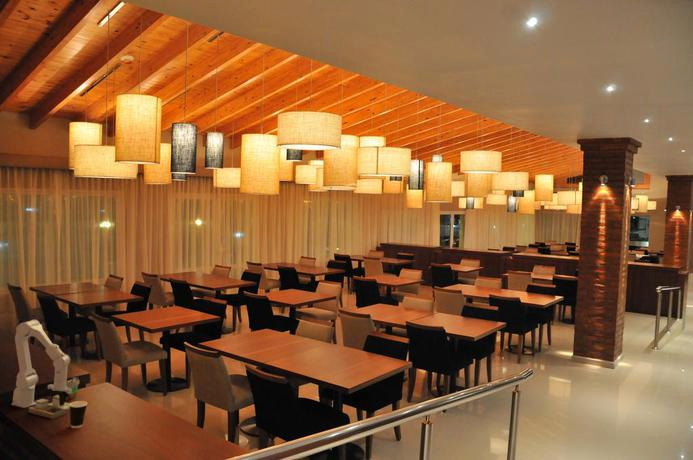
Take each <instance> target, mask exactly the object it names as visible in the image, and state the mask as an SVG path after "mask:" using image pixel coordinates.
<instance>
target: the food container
mask: <svg viewBox="0 0 693 460" xmlns="http://www.w3.org/2000/svg"><path fill="white" fill-rule="evenodd" d="M79 384H80V380H79V378H78V377H76V376H72V378H71V379H67V382H66V386H67V387H68V388H70V389H72V393H70V394H69V395H68V396H67V398H66V401H69V400H73V399H75V398H76V397H77V394H78V393H77V392H78V387H79Z"/></svg>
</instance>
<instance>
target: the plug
mask: <svg viewBox="0 0 693 460" xmlns="http://www.w3.org/2000/svg"><path fill="white" fill-rule="evenodd" d="M51 403H52V406H55V407H59V408H63V407H64V406H65V403H66V402H65V403H64V405H63V406H60V399H59V395H56V396H53V401H52V402H51Z"/></svg>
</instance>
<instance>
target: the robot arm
mask: <svg viewBox="0 0 693 460" xmlns="http://www.w3.org/2000/svg"><path fill="white" fill-rule="evenodd" d="M15 330H16V332H15V336H14V343H15V348H16V349H15V350H16V355H17V361H18V369H19V372H18V373H17V375H16V382H15V385H16V387H15V389H14V390H13V396H12V403H10V404H11V405H12V406H16V407H20V408H23V409H24V408H29V407H30V406H31V407H32V406H35V404H36V403H35V402H36V401H35V389H36V388H35V387H36V384H38V383H39V376H38V374H37V372H36V369H34V368H33V367H32V360H31V355H30V354H31V353H30V347H29V340H28V339H29V338H30V337H34V338H37V340H38V341H39V342H40V343H41V344H42V345H43V346H44V348H45V353H46V354H47V355H48V356H49V358H50V359H51V360H52V361H53V362H52V366H53V367H54V380H53V384H52V383H51V384H48V385H47V390H49V391H48V393H49V394H50V397H51V400H52V402H53V396H56V395H59V399H60V406H63V405H64V403H66V401H67V400H66V398H67V396H68V395H69V394H70V393H72V389H70V388H68V387H67V386H66V382H67V381H68V379H67V378H68V369H69V368H68V366H69V364H70V363H71V357H70V355H68V354H66V353H64V352H63V351H62V350H61V349H60V346H59V345H58V344H56V343H52V341H51V340H50V338H49V336H48V335H47V334H46V332H45V331H44V329H43V325H42V324H40V322H39V321H38V320H37V319H31V320H28V321H25V322H20V323H19V325H17V326H16V327H15Z"/></svg>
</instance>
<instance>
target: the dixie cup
mask: <svg viewBox="0 0 693 460" xmlns="http://www.w3.org/2000/svg"><path fill="white" fill-rule="evenodd" d="M69 406H70V409H69V418H70V419H69V421H70V428H72V429H79V428H82V426H83V424H84V419H85V414H86V410H87V406H88V402H87V401H84V400H77V401H72V402H70V403H69Z"/></svg>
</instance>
